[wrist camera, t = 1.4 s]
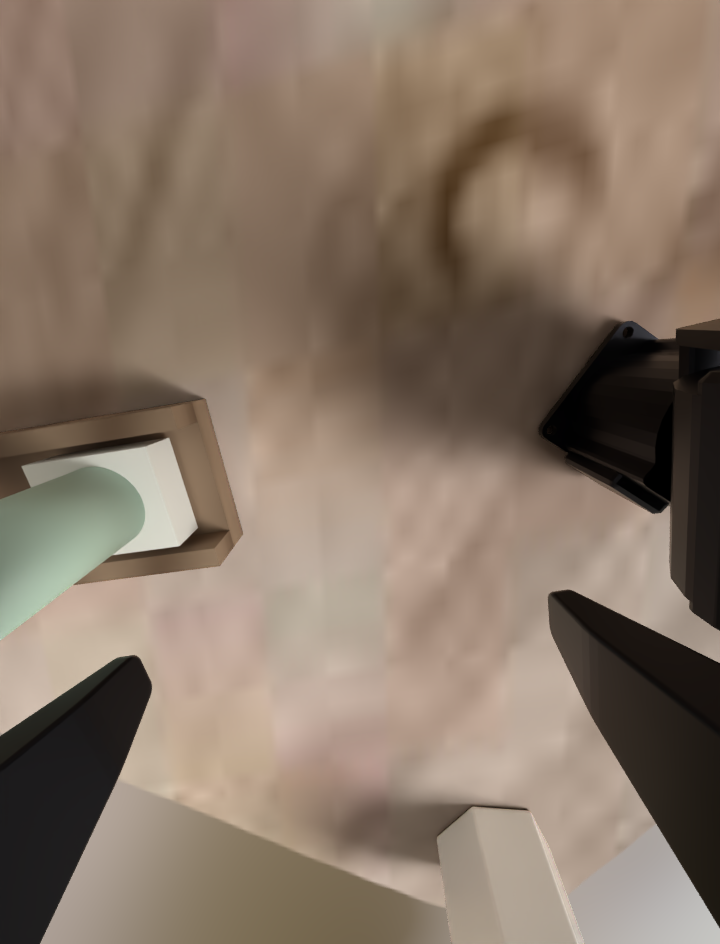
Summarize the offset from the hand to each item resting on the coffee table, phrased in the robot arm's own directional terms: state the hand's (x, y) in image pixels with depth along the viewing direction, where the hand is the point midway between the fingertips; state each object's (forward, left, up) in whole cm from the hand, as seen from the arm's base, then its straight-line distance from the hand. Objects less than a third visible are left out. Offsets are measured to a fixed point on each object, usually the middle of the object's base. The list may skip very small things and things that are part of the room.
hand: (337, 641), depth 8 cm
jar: (+21, +25, -13) cm, 35 cm away
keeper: (+7, -10, -11) cm, 16 cm away
